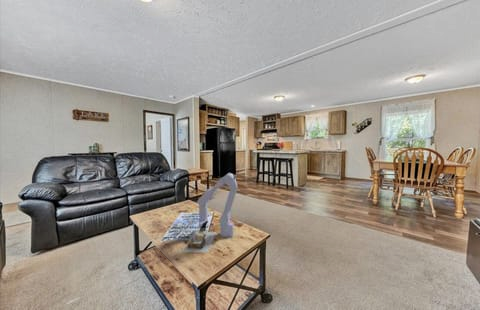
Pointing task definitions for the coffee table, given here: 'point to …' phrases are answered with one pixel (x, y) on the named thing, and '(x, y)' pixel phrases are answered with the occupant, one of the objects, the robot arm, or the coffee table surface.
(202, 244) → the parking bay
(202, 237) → the cart
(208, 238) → the dock board
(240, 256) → the coffee table surface
